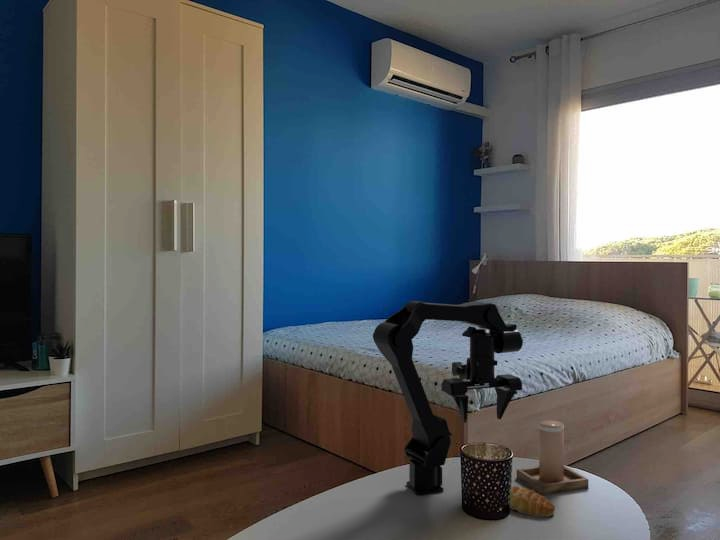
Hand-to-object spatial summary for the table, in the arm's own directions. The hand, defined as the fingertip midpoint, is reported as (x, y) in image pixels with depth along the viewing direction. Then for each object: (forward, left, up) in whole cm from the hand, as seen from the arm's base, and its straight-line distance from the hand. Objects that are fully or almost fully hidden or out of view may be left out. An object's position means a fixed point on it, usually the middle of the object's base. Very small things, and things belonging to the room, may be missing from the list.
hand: (481, 420), depth 134 cm
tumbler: (+13, -9, -12) cm, 20 cm away
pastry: (0, -18, -14) cm, 23 cm away
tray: (+13, -9, -13) cm, 20 cm away
